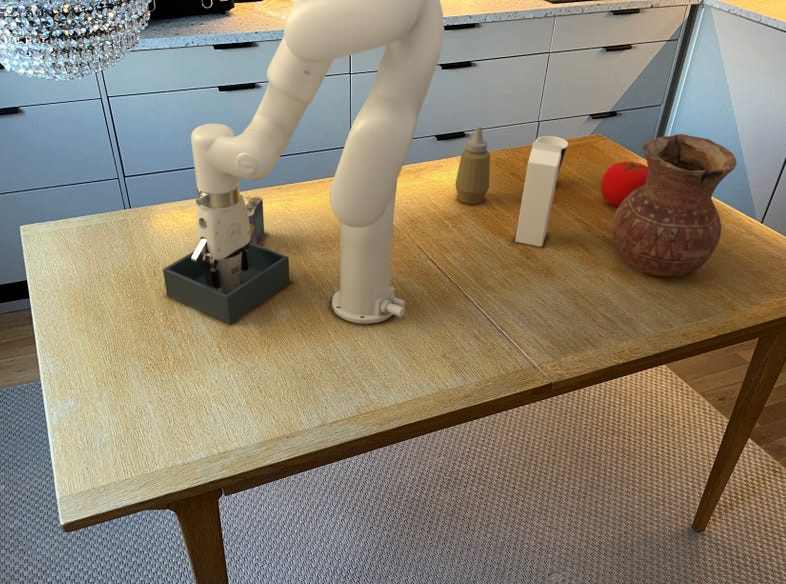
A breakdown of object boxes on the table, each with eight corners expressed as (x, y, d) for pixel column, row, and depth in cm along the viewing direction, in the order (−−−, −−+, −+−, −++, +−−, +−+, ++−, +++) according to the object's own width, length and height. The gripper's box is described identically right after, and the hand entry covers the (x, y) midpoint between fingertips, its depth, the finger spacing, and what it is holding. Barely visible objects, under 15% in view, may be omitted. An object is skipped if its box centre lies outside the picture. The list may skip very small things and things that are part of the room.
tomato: (595, 210, 181) (605, 169, 174) (598, 190, 190) (608, 150, 183) (647, 218, 178) (659, 177, 172) (648, 197, 187) (659, 157, 181)
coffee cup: (205, 293, 148) (199, 248, 142) (219, 275, 154) (214, 231, 147) (238, 298, 147) (234, 253, 141) (251, 280, 152) (247, 236, 146)
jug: (723, 290, 155) (765, 175, 139) (620, 288, 154) (652, 173, 139) (686, 236, 172) (720, 129, 157) (594, 234, 172) (620, 127, 156)
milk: (541, 247, 167) (560, 152, 153) (514, 242, 168) (530, 147, 154) (546, 234, 171) (564, 140, 157) (519, 229, 173) (535, 136, 159)
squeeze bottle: (448, 194, 186) (455, 122, 175) (479, 190, 188) (487, 119, 177) (461, 208, 180) (469, 135, 169) (492, 204, 182) (502, 132, 171)
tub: (289, 283, 153) (288, 256, 149) (229, 324, 141) (226, 297, 137) (228, 258, 160) (226, 232, 156) (166, 295, 148) (162, 269, 144)
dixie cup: (527, 176, 195) (534, 134, 188) (558, 178, 195) (566, 136, 188) (529, 189, 189) (536, 147, 182) (561, 191, 189) (570, 149, 182)
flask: (255, 254, 161) (251, 208, 155) (242, 252, 162) (237, 207, 155) (266, 233, 169) (263, 188, 162) (253, 232, 169) (250, 187, 162)
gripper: (200, 218, 131) (210, 303, 142) (266, 183, 142) (271, 264, 153) (169, 206, 134) (181, 290, 145) (235, 172, 145) (242, 253, 156)
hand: (227, 276), depth 149 cm, fingers open, 7 cm apart
